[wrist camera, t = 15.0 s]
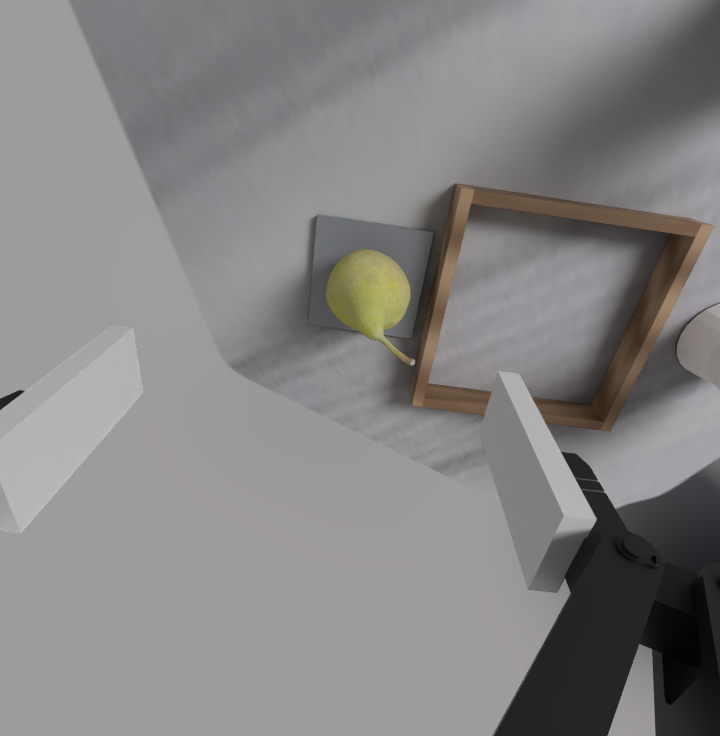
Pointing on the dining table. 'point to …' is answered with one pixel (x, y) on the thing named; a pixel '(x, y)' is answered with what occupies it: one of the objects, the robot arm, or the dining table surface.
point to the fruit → (369, 295)
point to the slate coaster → (390, 240)
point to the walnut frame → (636, 340)
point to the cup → (702, 345)
